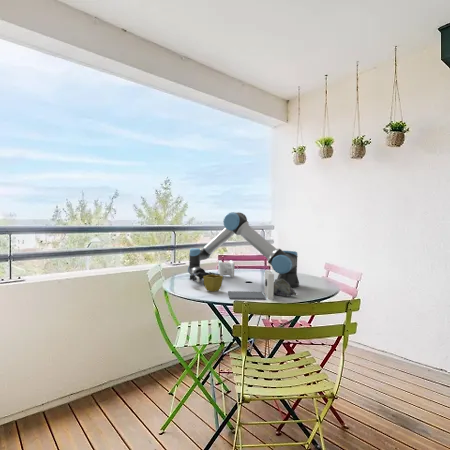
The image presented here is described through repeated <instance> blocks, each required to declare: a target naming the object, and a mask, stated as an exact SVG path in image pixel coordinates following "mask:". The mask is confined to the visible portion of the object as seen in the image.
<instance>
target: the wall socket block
mask: <svg viewBox="0 0 450 450" xmlns="http://www.w3.org/2000/svg"><path fill="white" fill-rule="evenodd" d="M274 281H275V274H274V272H273V271H271V270H269V269H267V270H266V269H265V270H264V293H263V294H264V296H265V298H266V299H267V300H274V294H273V293H274Z"/></svg>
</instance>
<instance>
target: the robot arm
mask: <svg viewBox="0 0 450 450" xmlns="http://www.w3.org/2000/svg"><path fill="white" fill-rule="evenodd" d="M223 226H224V228H223V230H221V231H220V232H219V233H218V234H217V235H216V236H215V237H213V238H212V239H211V240H210V241H209V242H208V243H207V244H205V245H204V247H202V248H201V249H200V248H197V247H191V248H190V249H189V257H188V258H189V259H188V260H189V261H188V262H189V264H188V267H187V273H188V274H189V280H190V281H191V280H192V281H193V282H197V283H200V281H201V280H204V278H203V276H206V275H212V274H213V275H219V276H220V274H218V273H217V272H216V273H215V272H211V271H209V272H206V270H205V269H204V268H202V267H201V261H203V260H207V259H210V257H211V255H212V254H213V253H215V252H216V251H217V250H218V249H219V248H220V247H221V246H222V245H223V244H225V243H227V242H228V241H229V239H230V238H231V237H232V236H234V235H236V236H241V237H242V239H244V240H245V241H246V242H248V243H249V244H250V246H252V247H254V249H255V250H257V251H258V252H259V253H260V254H261V255H262V256H263V257H265V258H266V259H267V263H268V264H269V265H271V267H272V270H273V271H274V272H275V273H277V274H278V276H277V277H276V279H277V280H279V279H284V280H285V281H287V282H288V283H289V284H290V287H291V288H298V287H300V282H299V277H298V252H297V251H296V250H295V251H294V250H293V251H292V250H283V249H281V248H276V247H275V246H274V245H273V244H272V243H270V242H269V241H268V240H267V239H266V238H264V237H263V236H262V235H261V234H260V233H258V232H257V231H256V230H255V229H254V228H252V227H251V226H250V224H249V221H248V218H247V216H246V215H245V214H244V213H242V212H240V211H239V212H235V211H233V212H232V211H231V212H228V213H226V214H225V216H224V218H223ZM297 286H298V287H297Z"/></svg>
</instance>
